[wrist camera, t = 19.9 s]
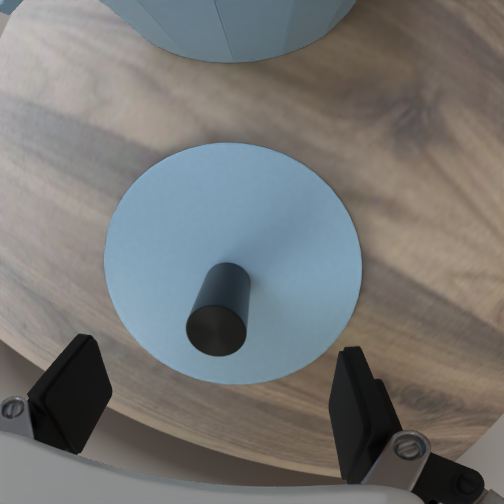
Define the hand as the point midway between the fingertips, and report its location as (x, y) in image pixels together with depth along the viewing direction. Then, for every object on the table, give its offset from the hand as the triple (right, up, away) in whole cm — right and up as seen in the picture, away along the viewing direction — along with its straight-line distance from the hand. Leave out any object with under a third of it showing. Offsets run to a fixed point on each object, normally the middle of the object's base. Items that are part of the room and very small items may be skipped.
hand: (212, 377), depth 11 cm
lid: (0, +3, +9) cm, 9 cm away
